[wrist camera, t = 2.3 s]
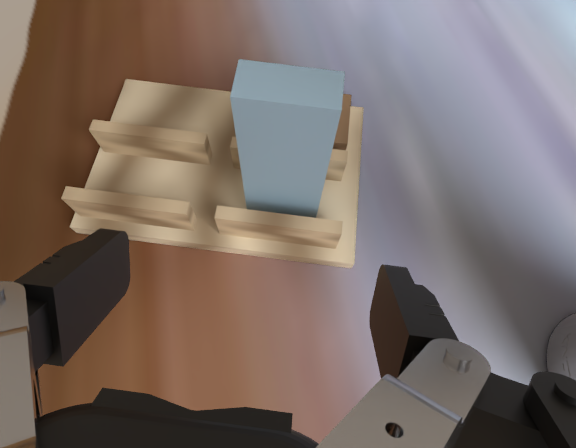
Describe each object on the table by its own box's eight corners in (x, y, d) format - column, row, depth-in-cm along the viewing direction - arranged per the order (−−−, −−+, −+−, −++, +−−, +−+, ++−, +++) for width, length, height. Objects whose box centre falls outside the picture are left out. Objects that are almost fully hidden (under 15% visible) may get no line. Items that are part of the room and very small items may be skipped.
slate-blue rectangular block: (318, 191, 32) (344, 71, 20) (315, 219, 31) (341, 110, 19) (252, 183, 32) (238, 58, 20) (247, 210, 31) (230, 96, 19)
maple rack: (360, 116, 37) (370, 83, 33) (351, 268, 31) (362, 250, 27) (130, 88, 37) (113, 53, 33) (76, 232, 31) (49, 210, 27)
